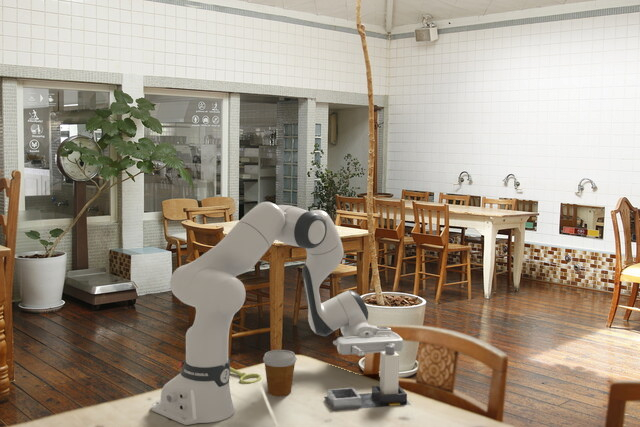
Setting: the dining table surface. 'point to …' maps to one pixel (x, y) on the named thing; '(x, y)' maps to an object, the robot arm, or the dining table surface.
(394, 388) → the plug
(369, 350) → the robot arm
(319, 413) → the dining table surface
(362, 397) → the panel
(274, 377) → the disposable coffee cup
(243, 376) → the key
